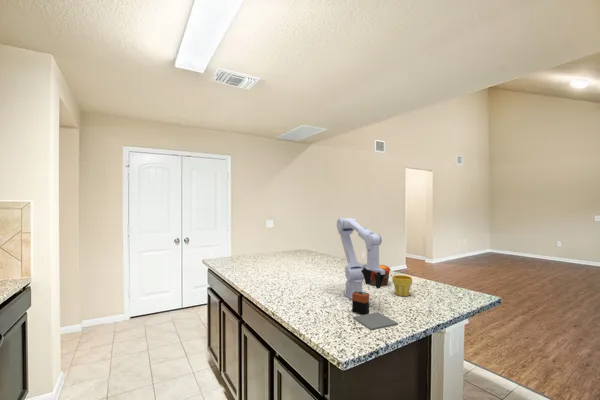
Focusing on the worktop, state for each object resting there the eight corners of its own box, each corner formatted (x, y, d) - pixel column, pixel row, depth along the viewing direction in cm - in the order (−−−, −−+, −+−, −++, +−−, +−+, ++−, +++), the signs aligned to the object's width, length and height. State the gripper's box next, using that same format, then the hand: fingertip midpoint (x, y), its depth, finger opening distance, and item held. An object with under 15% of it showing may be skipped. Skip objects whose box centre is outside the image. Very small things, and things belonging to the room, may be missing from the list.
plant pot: (394, 290, 167) (394, 273, 167) (413, 293, 161) (413, 276, 162) (390, 295, 158) (390, 277, 158) (410, 298, 153) (410, 280, 153)
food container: (393, 287, 173) (393, 269, 173) (367, 287, 173) (367, 269, 174) (386, 280, 189) (386, 264, 189) (362, 280, 189) (362, 263, 189)
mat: (352, 318, 127) (352, 316, 127) (378, 313, 132) (378, 312, 132) (370, 330, 115) (370, 328, 115) (398, 324, 120) (398, 323, 120)
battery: (356, 309, 137) (356, 288, 137) (369, 312, 133) (369, 291, 133) (351, 312, 134) (351, 291, 134) (365, 315, 129) (365, 293, 130)
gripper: (357, 256, 146) (357, 283, 145) (377, 261, 133) (377, 291, 132) (368, 255, 149) (368, 281, 149) (388, 260, 136) (388, 289, 136)
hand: (373, 285), depth 141 cm, fingers open, 7 cm apart
